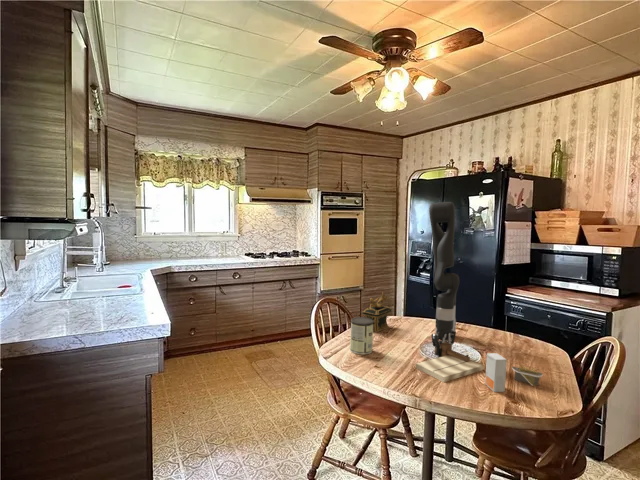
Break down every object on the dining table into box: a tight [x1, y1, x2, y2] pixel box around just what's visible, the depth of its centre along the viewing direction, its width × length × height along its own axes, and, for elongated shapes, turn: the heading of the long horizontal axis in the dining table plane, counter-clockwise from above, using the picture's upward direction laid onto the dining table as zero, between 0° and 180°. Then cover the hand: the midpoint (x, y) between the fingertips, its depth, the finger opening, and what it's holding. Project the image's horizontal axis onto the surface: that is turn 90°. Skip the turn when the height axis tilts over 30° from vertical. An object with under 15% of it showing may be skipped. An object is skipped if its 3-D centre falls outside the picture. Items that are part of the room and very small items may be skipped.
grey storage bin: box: [511, 365, 544, 387], centre depth 134 cm, size 12×18×7 cm, turn 57°
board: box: [415, 355, 485, 383], centre depth 145 cm, size 24×14×2 cm, turn 121°
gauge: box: [433, 340, 471, 362], centre depth 155 cm, size 4×17×6 cm, turn 31°
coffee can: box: [349, 316, 374, 355], centre depth 162 cm, size 10×10×14 cm
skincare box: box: [484, 352, 507, 393], centre depth 129 cm, size 6×4×12 cm
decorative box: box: [362, 291, 393, 333], centre depth 197 cm, size 20×10×20 cm, turn 141°
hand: (442, 354), depth 159 cm, fingers open, 4 cm apart
